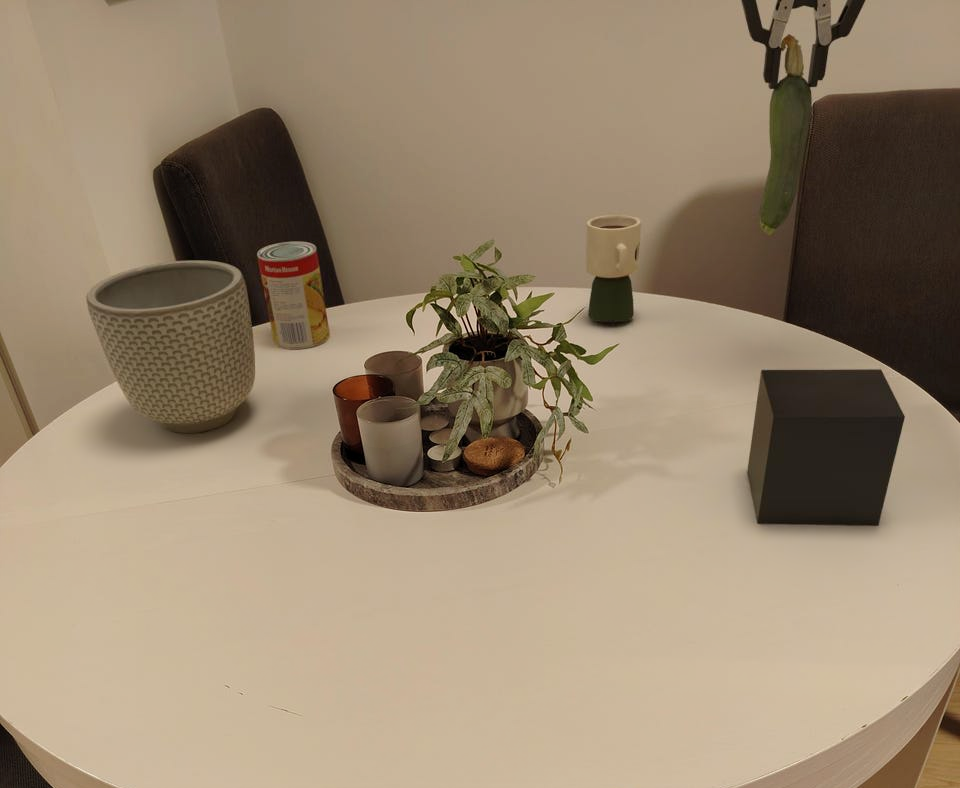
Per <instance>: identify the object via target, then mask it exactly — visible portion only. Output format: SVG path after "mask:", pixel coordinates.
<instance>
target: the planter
mask: <svg viewBox="0 0 960 788" xmlns="http://www.w3.org/2000/svg"><path fill="white" fill-rule="evenodd" d="M85 299H86V305H87V310H88V314H89V317H90V320H91V322H92V325H93V328H94V330H95V332H96V335H97V337H98V340H99V343H100V345H101V347H102V350H103V352H104V355H105V358H106V360H107V362H108V365H109V367H110V369H111V371H112V373H113V376H114V378H115V380H116V382H117V384H118V386H119V388H120V390H121V392H122V394H123V395H124V397H125V399H126V400H127V402H128V403H129V404H130V406H131V407H132V408H133V409H134V410H136V411H137V412H138V413H139V414H141V415H143V416H144V417H146V418H148V419H150V420H153V421H155V422H158V423H160V424H161V425H162V426H164V428H166V429H167V430H169V431H171V432H174V433H179V434H196V433H203V432H208V431H212V430H214V429H218V428H220V427H222V426H224V425H226V424H227V423H229V422H230V421H231V420H232V419H233V418H234V417H235V415H236V412H237V409H238V407H239V406H241V405H242V404H243V402H244V401H245V400H246V399H247V398H248V396H249V395H250V394H251V392H252V390H253V387H254V384H255V381H256V380H255V379H256V354H255V352H256V351H255V342H254V331H253V324H252V318H251V317H252V316H251V309H250V302H249V294H248V289H247V284H246V280H245V278H244V275H243V273H242V271H241V270H240V269H239V268H237V267H235V266H234V265H231V264H229V263H225V262H220V261H215V260H200V259H199V260H195V259H194V260H174V261H166V262H159V263H153V264H148V265H142V266H138V267H135V268H132V269H127V270H124V271H122V272H118V273H116V274H113V275H111V276H109V277H106V278H104V279H102V280H100V281H99V282H97V283H96V284H95V285H93V286H92V287H91V288H90V289H89V290H88V292H87V294H86V296H85Z"/></svg>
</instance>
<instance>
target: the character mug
mask: <svg viewBox="0 0 960 788" xmlns="http://www.w3.org/2000/svg"><path fill="white" fill-rule="evenodd" d="M641 224H642V222H641V218H639V217H636V216H633V215H629V214H628V215H627V214H604V215H600V216H595V217H592V218H590V219H589V220H588V221H586V241H585V242H586V243H585V244H586V247H585V248H586V249H585V250H586V251H585V253H586V254H585V256H586V257H585V262H586V263H585V265H586V272H587V273H588V274H589V275H591V276H593V277H594V278H593V280H592V284H591V290H590V296H589V303H588V313H587V316H588V318H589V320H592V321H594V322H604V323H605V322H606V323H609V322H610V323H611V324H615V323H616V322H628V321H630V320H632V319H633V318H634V316H635V309H634V296H633V295H634V294H633V285H632V280H631V277H630V275H631V274H634V273H635V272H636V271H637V270H638V269H639V266H640V244H641V227H642V225H641Z"/></svg>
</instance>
